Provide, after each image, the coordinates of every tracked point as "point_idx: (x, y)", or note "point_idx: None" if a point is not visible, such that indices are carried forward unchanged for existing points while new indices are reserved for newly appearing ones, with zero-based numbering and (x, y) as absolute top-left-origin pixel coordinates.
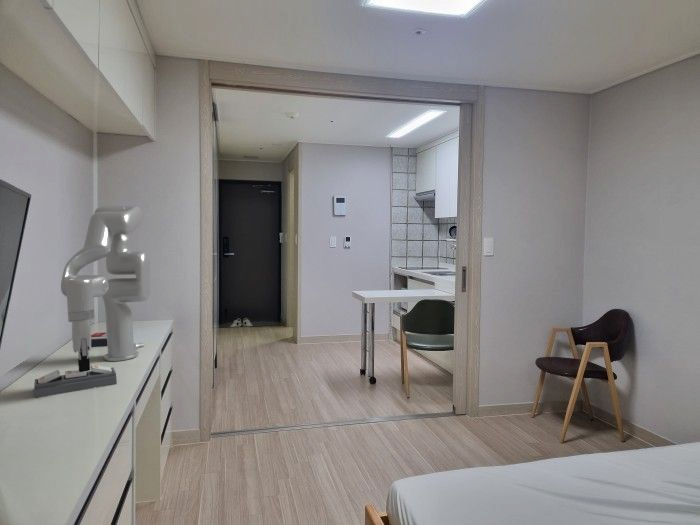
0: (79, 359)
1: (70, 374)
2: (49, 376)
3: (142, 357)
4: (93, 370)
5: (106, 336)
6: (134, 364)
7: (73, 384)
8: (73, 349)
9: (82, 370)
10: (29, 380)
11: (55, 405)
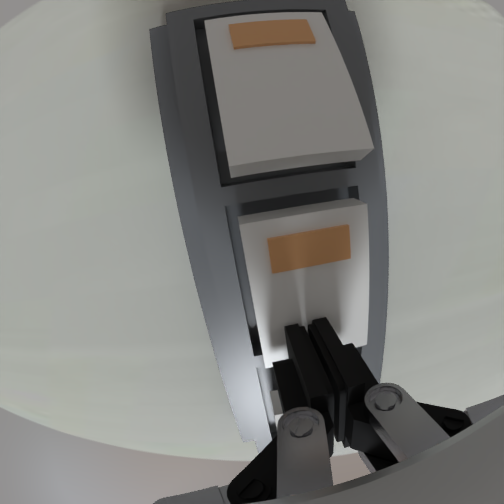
0: (279, 421)
1: (247, 263)
2: (237, 85)
3: (498, 396)
4: (272, 402)
5: None
6: (459, 403)
7: (192, 263)
8: (357, 498)
9: (289, 348)
10: (478, 31)
11: (7, 199)
